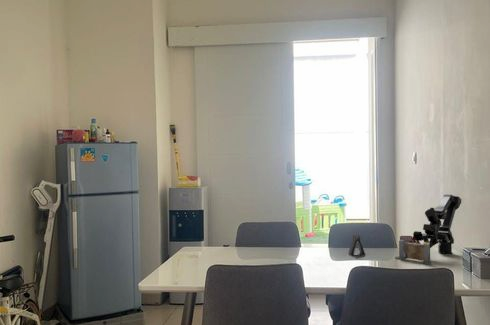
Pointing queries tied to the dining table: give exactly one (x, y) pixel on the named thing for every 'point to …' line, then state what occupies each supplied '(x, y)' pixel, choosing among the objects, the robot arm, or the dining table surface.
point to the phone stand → (355, 245)
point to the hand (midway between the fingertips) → (426, 249)
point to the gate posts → (402, 252)
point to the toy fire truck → (409, 239)
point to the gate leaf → (415, 251)
